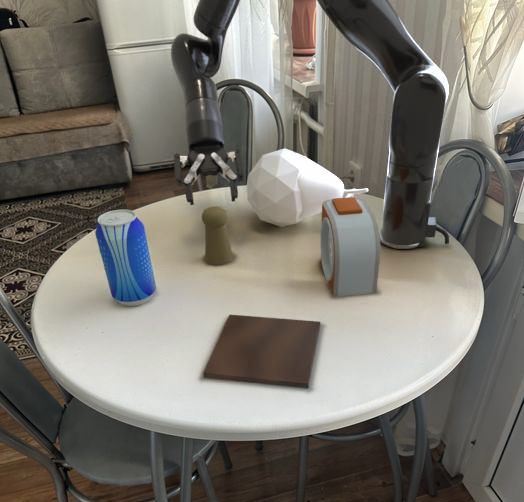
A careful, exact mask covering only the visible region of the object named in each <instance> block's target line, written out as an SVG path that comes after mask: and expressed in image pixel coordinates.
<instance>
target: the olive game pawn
mask: <svg viewBox="0 0 524 502" xmlns="http://www.w3.org/2000/svg"><path fill="white" fill-rule="evenodd" d="M228 217H229V216H228V213H227V210H226V209H225V208H223V207H221V206H209V207H207V208H205V209H204V210H203V211H202V212H201V220H202V223H203V225H204V226H205V227H204V228H205V232H204V261H205V263H207V264H209V265H213V266H222V265H227V264H229V263H231V262H232V261H233V260H234V254H233V251H232V246H231V241H230V238H229V237H230V236H229V233H228V228H227V222H228Z"/></svg>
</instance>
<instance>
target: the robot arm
mask: <svg viewBox="0 0 524 502" xmlns="http://www.w3.org/2000/svg"><path fill="white" fill-rule="evenodd" d="M316 1H317V3H318V5H319V7H320V8H321V10H322V11H323V12H324V13H325V15H326V17H327V18H328V19H329V20H330V22H331V23H332V24H333V26H334V27H335V29H337V31H338V32H339V33H340V34H341V35H342V37H344V39H346V40H347V42H349V43H350V45H352V46H353V47H354V48H356V49H357V50H358V51H359V52H360V53H362V54H363V55H364V56H365V57H367V58H368V59H369V60H370V61H371V62H373V63H374V65H375V66H376V67H377V68H378V69H379V70H380V72H381V73H382V75H383V76H384V78H385V79H386V80H387V82H388V84H389V85H390V87H391V89H392V91H393V92H394V95H393V98H392V99H393V100H392V107H391V117H390V126H389V127H390V128H389V136H388V137H389V138H388V139H389V140H388V148H389V149H388V150H389V154H388V163H387V171H386V181H385V188H384V189H385V190H384V199H383V207H382V208H383V209H382V218H381V224H380V225H381V226H380V232H379V235H380V243H381V244H383V245H384V246H387V247H389V248H393V249H399V250H410V249H411V250H412V249H415V248H424V247H425V242H426V238H433V239H434V238H435V237H436V232H438V233H440V234H442V235H443V237H444V244H445V245H448V244H450V236H449V233H448V232H447V231H446V230H445V229H443V228H441V227H439V226H438V225H437V218H436V217H434V216H430V212H431V207H432V202H431V197H432V191H433V185H434V179H435V175H436V174H435V172H436V167H437V161H438V155H439V150H440V140H441V133H442V130H443V129H442V128H443V122H444V116H445V110H446V104H447V100H448V97H449V90H450V89H449V82H448V79H447V77H446V75H445V74H444V72H443V71H442V70H441V68H439V66H437V64H435V63H434V61H432V59H431V58H429V56H428V55H427V54H426V53H425V52H424V51H423V50H422V49H421V47H420V46H419V45H418V44H417V43H416V41H415V40H414V39H413V37H412V36H411V35H410V33H409V32H408V30H407V29H406V26H405V25H404V24H403V22H402V20H401V19H400V17H399V15H398V13H397V12H396V10H395V8H394V7H393V5H392V4H391V2H390V0H316ZM240 2H241V0H198V3H197V5H196V7H195V10H194V14H193V24H194V26H195V29H196V30H198V31H199V32H200V34H202V35H203V36H205V37H206V38H207V39H205V38H201V37H198V36H195V35H193V34H190V33H183V32H182V33H179V34H177V35H176V37H174V38H173V41H172V43H171V47H170V58H171V63H172V68H173V69H174V72H175V74H176V75H175V76H176V77H177V80H178V82H179V85H180V87H181V89H182V92H183V100H184V109H185V117H184V119H185V131H186V138H187V146H188V153H187V155H180V154H179V153H175V154H174V155H173V163H174V165H173V167H174V180H175V184H176V186H177V187H178V188H179V187H183V188H184V191H185V193H184V194H185V199H186V202H187V203H189V204H190V206H193V205H195V202H194V193H193V184H194V183H195V182H196V181H197V180H198V178H199V177H200V176H202V177H208V176H212V177H213V176H215V177H216V176H218V175H220V176H222V177H223V178H224V179H226V180H227V181H228V182H229V190H230V198H231V202H236V199H238V197H239V189H238V183H239V182H243V181H245V174H246V173H245V167H244V166H245V165H244V162H243V157H242V151H241V149H240V148H236V149H235V150H234V151H227V150H226V146H225V137H224V128H223V127H224V126H223V121H222V113H221V110H220V107H219V99H218V98H219V97H218V89H217V85H216V82H215V81H214V80H213V79H212V78H213V77H214V76H216V75H217V74H218V72H219V70H220V68H221V63H222V58H223V50H224V45H225V41H226V36H227V32H228V30H229V28H230V25H231V23H232V21H233V18H234V16H235V15H236V12H237V10H238V7H239V4H240ZM228 160H231V162H232V163H233V164H235V167H236V173H235V172H234V171H233V170H232V169H231V168H230V166H229V165H228V164H227V162H229V161H228ZM187 163H188V164H189V166H191V167H190V169H189V171H188V173H187V175H186V177H183V172H182V169H183V168H184V167H185V166H186V164H187Z"/></svg>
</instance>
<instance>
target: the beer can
mask: <svg viewBox="0 0 524 502" xmlns="http://www.w3.org/2000/svg"><path fill="white" fill-rule="evenodd" d="M94 233H95V237H96V242H97V245H98V249H99V254H100V257H101V261H102V264H103V269H104V272H105V276H106V280H107V284H108V287H109V290H110V295H111V297H112V298H113V299H114V301H117V303H118V304H119V305H122V306H127V307H134V306H139V305H144V304H145V303H147V302H149V301H151V299H152V298H153V297H154V294H155V292H156V290H157V284H156V279H155V274H154V269H153V264H152V260H151V254H150V249H149V245H148V244H149V243H148V239H147V234H146V229H145V225H144V223H143V222H142V221H141V220H140V219H139V218H138V216H137V213H136V212H135V211H134V210H130V209H115V210H114V209H113V210H110V211H106V212H103V213H102V214H100V215H99V216H98V217H97V225H96V228H95V232H94Z"/></svg>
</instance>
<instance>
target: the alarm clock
mask: <svg viewBox="0 0 524 502" xmlns="http://www.w3.org/2000/svg"><path fill="white" fill-rule="evenodd" d="M380 262H381V241H380V230H379V224H378V220H377V218H376V216H375V214H374V212H373V211H372V209H371V208H370V206H369V205H368V204H367V202H366V200H365V199H363V198H360V197H354V196H353V197H347V198H346V197H342V198H335V199H331V200H326V201H324V202H323V203H322V212H321V226H320V262H319V263H320V265H321V268H322V271H323V274H324V277H325V280H326V281H327V284H328V286H329V289H330V292H331V294H332V296H333V298H334V297H345V296H346V297H347V296H358V295H370V294H376V293H377V289H378V282H379V271H380Z"/></svg>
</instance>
